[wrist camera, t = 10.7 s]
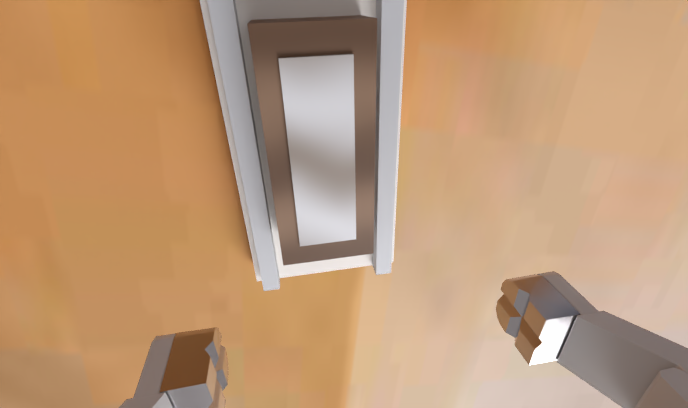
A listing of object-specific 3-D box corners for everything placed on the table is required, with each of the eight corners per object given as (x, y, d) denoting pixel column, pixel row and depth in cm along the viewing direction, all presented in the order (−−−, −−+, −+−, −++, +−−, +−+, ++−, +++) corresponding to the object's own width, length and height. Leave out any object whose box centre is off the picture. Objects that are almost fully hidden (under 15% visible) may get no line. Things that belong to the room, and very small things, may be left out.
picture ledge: (190, -69, 18) (178, -79, 16) (401, -71, 19) (418, -80, 17) (257, 268, 29) (256, 291, 27) (388, 251, 30) (397, 271, 28)
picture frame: (251, 19, 19) (247, 23, 16) (361, 15, 20) (378, 18, 17) (281, 234, 26) (283, 267, 23) (362, 225, 27) (374, 255, 24)
